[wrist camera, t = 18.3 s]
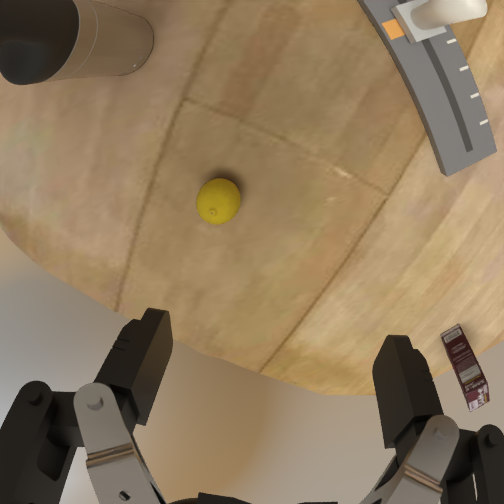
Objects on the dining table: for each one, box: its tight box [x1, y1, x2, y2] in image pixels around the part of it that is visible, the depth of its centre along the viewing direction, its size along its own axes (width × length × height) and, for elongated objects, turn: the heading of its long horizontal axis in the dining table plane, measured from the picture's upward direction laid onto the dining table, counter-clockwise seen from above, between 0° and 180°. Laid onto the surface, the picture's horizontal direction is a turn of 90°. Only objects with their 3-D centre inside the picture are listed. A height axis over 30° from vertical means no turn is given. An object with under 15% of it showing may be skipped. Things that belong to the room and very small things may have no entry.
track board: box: [357, 0, 497, 177], centre depth 30 cm, size 28×10×2 cm, turn 32°
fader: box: [391, 0, 487, 43], centre depth 20 cm, size 5×5×14 cm
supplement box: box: [440, 324, 490, 412], centre depth 47 cm, size 9×5×16 cm, turn 37°
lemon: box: [196, 178, 241, 225], centre depth 40 cm, size 6×6×8 cm
